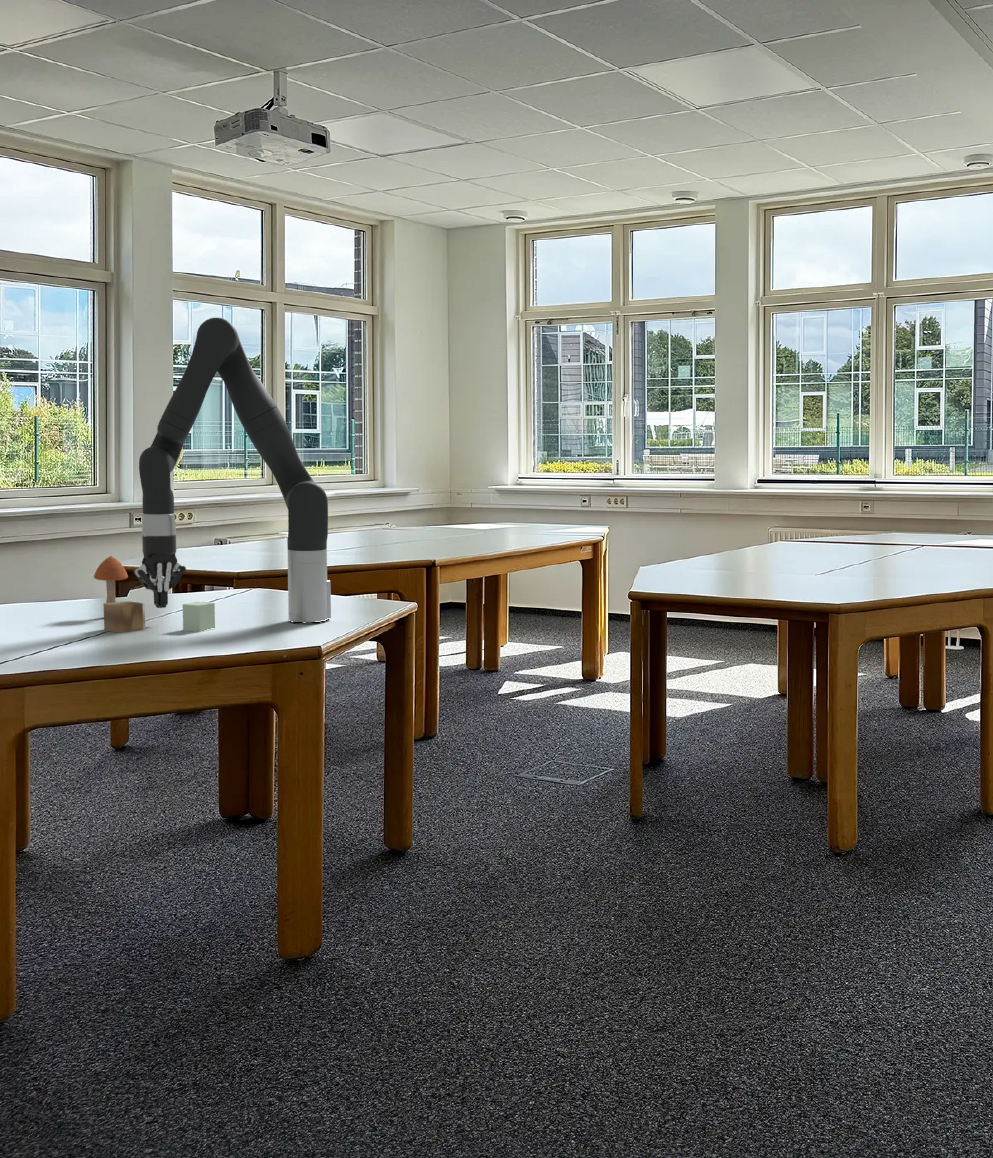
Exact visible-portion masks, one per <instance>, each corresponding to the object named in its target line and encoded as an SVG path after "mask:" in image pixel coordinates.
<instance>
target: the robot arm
mask: <svg viewBox="0 0 993 1158" xmlns="http://www.w3.org/2000/svg"><path fill="white" fill-rule="evenodd" d="M217 373H218V375H219V376H220V378H221V379H222V381H223V383H224V386H225V387H226V390H227V392H228V396H229V398H230V401H231V404H232V406H233V409H234V411H235V413H236V415H237V417H238V419H239V422H240V423H241V426H242V428H243V429H244V432H246V434H247V436H248V438H249V440H250V442H251V443H252V445H253V446H254V448H255V449H256V451H257V453H258V454H259V456H260V457H261V458H262V460H263V461H264V463H265V464H266V465H267V467H268V468H269V470H270V471H271V474H272V475H273V477H274V479H275V481H276V483H277V486H278V488H279V490H280V493H281V495H282V497H283V500H284V502H285V505H286V508H287V516H288V517H287V520H288V522H287V524H288V526H287V527H288V529H287V530H288V531H287V539H286V540H287V541H286V543H287V593H288V594H287V595H288V596H287V597H288V598H287V601H288V602H287V603H288V604H287V605H288V608H287V609H288V621H289V620H290V621H293V622H315V621H321V620H325V619H327V618H331V619H332V603H331V602H332V599H331V598H332V594H331V589H332V587H331V580H330V579H328V551H327V548H328V547H327V543H328V538H329V537H328V536H329V505H328V504H329V502H328V501H329V500H328V496H327V494H326V491H325V489H323V487H322V486H320V485H319V484H317V483H316V482H315V480H314V479H313V478H312V476H311V475H310V473H309V472H308V469H306V467H305V466H304V464H303V462H302V460H301V458H300V456H299V455H298V454H299V453H298V451H297V449H296V445H295V443H294V440H293V437H292V434H291V432H290V429H289V426H288V425H287V422H286V420H285V419H284V417H283V415H282V413H281V410H280V409H279V407H278V405H277V404H276V402H275V400H274V398H273V397H272V395H271V394H270V392H269V391H268V389H267V388H266V386H265V385H264V384H263V382H262V381H261V379H260V378H259V377H258V375H257V374H256V372H255V371H254V369H253V367H252V366H251V364H250V361H249V359H248V357H247V355H246V353H245V350H244V348H243V345H242V342H241V341H240V337H239V334H238V332H237V329H236V327H235V326H234V325H233V324H232V323H231V322H230V321H229V320H227V319H225V318H223V317H210V318H208V319H206V320H205V321H203V322H202V323H200V325H199V327H198V328H197V331H196V338H195V342H194V346H193V350H192V352H191V355H190V358H189V361H188V364H187V366H186V368H185V371H184V373H183V375H182V377H181V379H180V380H179V383H178V384H177V386H176V389H175V390H174V392H173V393H172V395H171V397H170V399H169V401H168V403H167V405H166V407H165V409H164V411H163V413H162V415H161V417H160V418H159V419H160V420H159V422H158V425H157V426H156V427H157V431H156V435H155V436H154V439H153V440H152V442H151V445H150V446H149V447H146V449H144V450H143V451H142V452H141V453H140V456H139V460H138V471H139V479H140V485H141V490H142V501H141V502H142V520H141V537H142V538H141V539H142V541H141V542H142V555H143V558H142V560H141V565H140V566H139V567H138V568H135V569H133V574H134V575H135V577H136V578H137V579H138V581H139V582H140V583H141V584H142V586H144V588H145V589H146V590H149V591H152V592H153V605H154V606H155V608H157V609H163V608H167V605H168V604H169V596H168V595H169V590H171V589H175V588H176V586H177V584H178V583H179V581H180V580H181V578H182V577H183V575H184V573H185V571H186V570H187V567H186V566H185V565H181V564H180V563H179V562H178V558H177V556H176V553H177V529H176V528H177V527H176V525H177V524H176V523H177V522H176V517H175V497H174V492H173V491H172V487H171V473H172V471H173V470H174V468H175V467H176V465H177V463H178V460H179V458H180V455H181V453H182V450H183V447H184V443H185V441H186V440H187V438H188V436H189V434H190V432H191V431H192V428H193V426H194V425H195V423H196V420H197V418H198V416H199V414H200V411H201V409H202V407H203V404H204V401H205V398H206V395H207V392H208V391H209V388H210V385H211V384H212V382H213V379H214V378H215V376H216V375H217ZM147 574H148V575H149V576H148V575H147ZM293 622H292V623H293Z"/></svg>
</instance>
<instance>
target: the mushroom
mask: <svg viewBox="0 0 993 1158" xmlns="http://www.w3.org/2000/svg"><path fill="white" fill-rule="evenodd" d="M128 578H129V575H128V573H127V570H126V569H125V567H124V566H123V565H122V563H121V562H120V561H119V560H118V559H117V558H116V557H114V556H112V555H110V556H108V557H107V558H105V559H104V560H103V561H102V562H101V563H100V564H99V565H98V567H97V568H96V570H95V572H94V575H93V579H95V580H98V581H105V587H106V588H105V589H106V590H105V591H106V603H114V602H117V598H116V581H124V580H127V579H128Z"/></svg>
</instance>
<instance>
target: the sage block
mask: <svg viewBox="0 0 993 1158" xmlns="http://www.w3.org/2000/svg"><path fill="white" fill-rule="evenodd" d="M215 610H216V607H215V602H207V601H206V602H205V601H193V602H189V603H188V602H187V603H183V604H182V630H183V631H186V630H187V631H189V632H196V631H197V633H201V631H202V632H205V631H204V630H207V629H211V628H215V629H216V616H215V615H216V611H215ZM207 631H208V630H207Z"/></svg>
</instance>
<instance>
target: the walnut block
mask: <svg viewBox="0 0 993 1158" xmlns="http://www.w3.org/2000/svg"><path fill="white" fill-rule="evenodd" d="M102 605H103V625H104V627H103V628H104V629H103V630H104V631H109V632H111V633H112V632H113V633H117V634H118V633H124V632H125V633H127V632H133V631H136V632H137V631H143V629H145V630H146V606H145V605H146V603H145V602H141V601H135V600H128V601H127V600H126V601H125V600H124V601H116V602H114V603H105V602H104V603H103V604H102Z"/></svg>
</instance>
